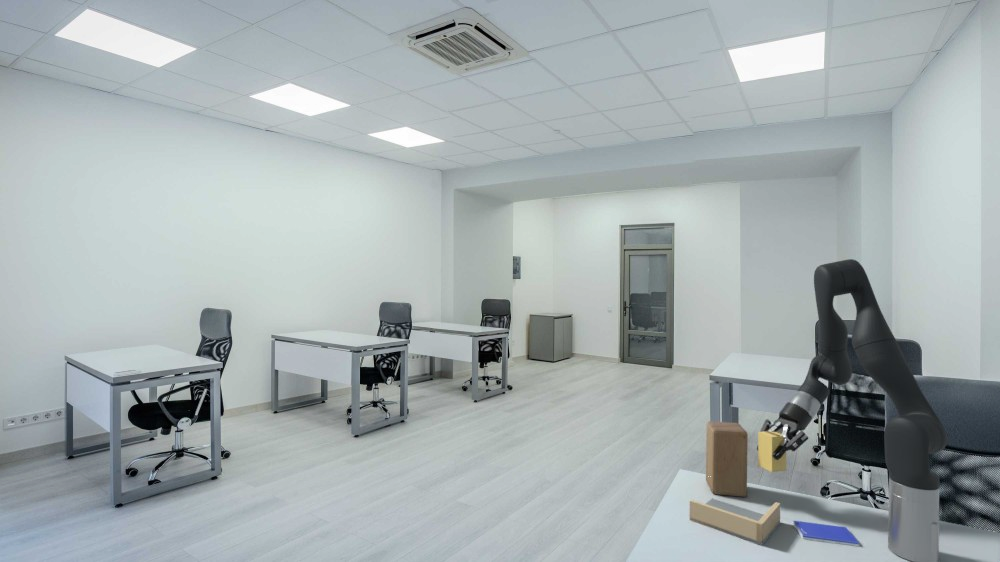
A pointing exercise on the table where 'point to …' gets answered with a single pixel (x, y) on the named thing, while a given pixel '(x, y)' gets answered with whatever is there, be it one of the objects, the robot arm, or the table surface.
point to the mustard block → (770, 451)
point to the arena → (736, 519)
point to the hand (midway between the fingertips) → (767, 454)
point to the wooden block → (726, 458)
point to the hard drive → (825, 533)
